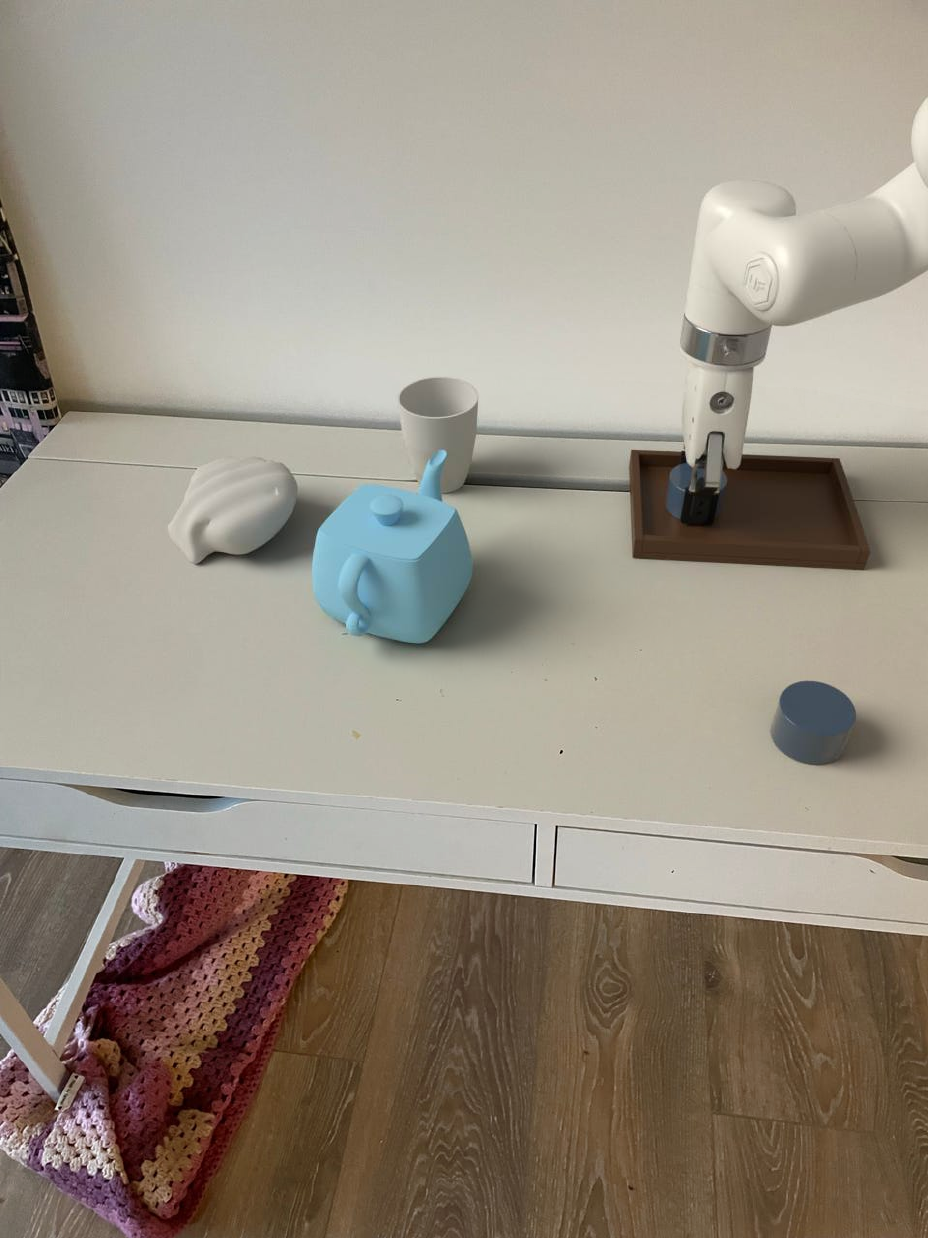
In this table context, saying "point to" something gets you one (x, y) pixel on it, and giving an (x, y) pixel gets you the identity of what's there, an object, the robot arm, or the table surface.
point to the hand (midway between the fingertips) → (694, 502)
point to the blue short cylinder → (681, 480)
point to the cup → (439, 426)
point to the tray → (752, 514)
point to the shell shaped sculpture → (233, 507)
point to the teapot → (393, 560)
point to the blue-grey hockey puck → (812, 722)
